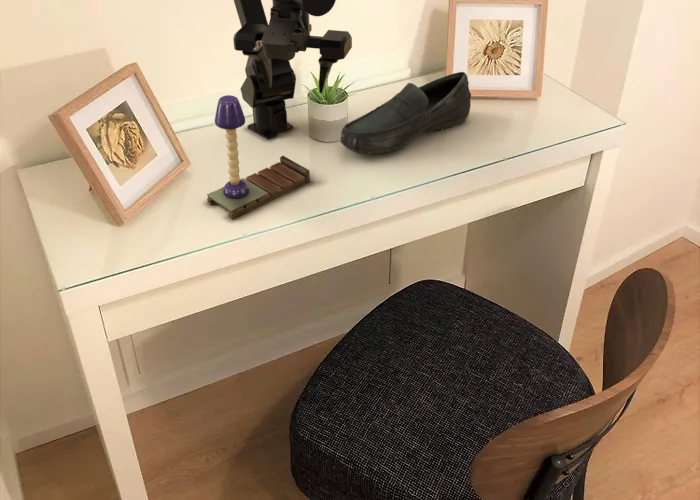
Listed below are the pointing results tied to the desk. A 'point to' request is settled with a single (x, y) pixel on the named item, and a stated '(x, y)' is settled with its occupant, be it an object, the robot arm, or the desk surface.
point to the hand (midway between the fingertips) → (295, 89)
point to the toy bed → (263, 187)
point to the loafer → (410, 115)
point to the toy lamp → (231, 143)
